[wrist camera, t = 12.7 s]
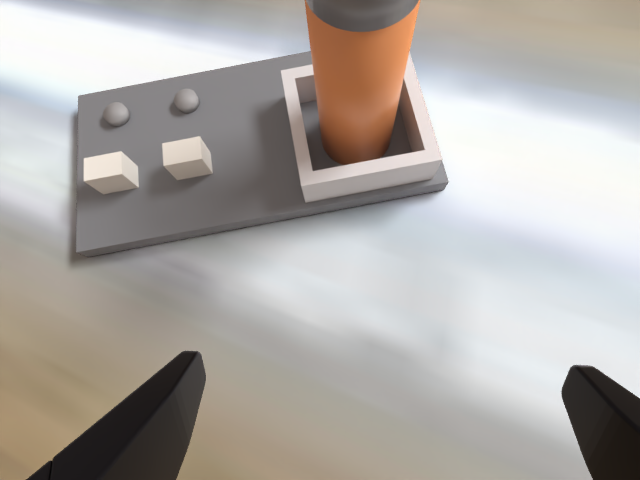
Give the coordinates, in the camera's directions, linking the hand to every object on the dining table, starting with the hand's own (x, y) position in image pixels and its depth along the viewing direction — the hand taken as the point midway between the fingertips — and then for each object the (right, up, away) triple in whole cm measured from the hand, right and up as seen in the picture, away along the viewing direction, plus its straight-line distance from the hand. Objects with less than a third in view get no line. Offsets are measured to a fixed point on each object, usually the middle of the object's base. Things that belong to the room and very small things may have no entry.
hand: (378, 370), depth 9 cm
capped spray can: (+1, +10, +16) cm, 19 cm away
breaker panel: (-6, +10, +18) cm, 21 cm away
